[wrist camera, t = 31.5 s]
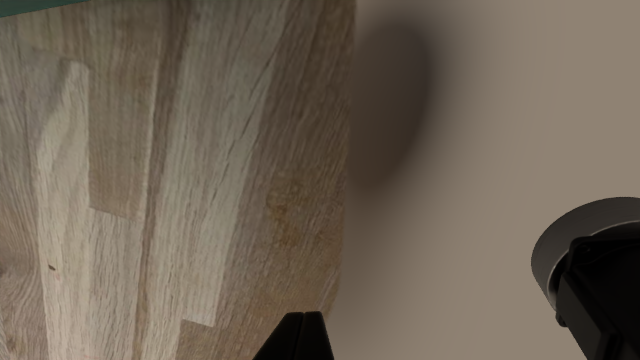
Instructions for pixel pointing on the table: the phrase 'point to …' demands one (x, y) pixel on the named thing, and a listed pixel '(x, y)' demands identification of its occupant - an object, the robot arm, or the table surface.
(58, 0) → the open box
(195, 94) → the table surface
